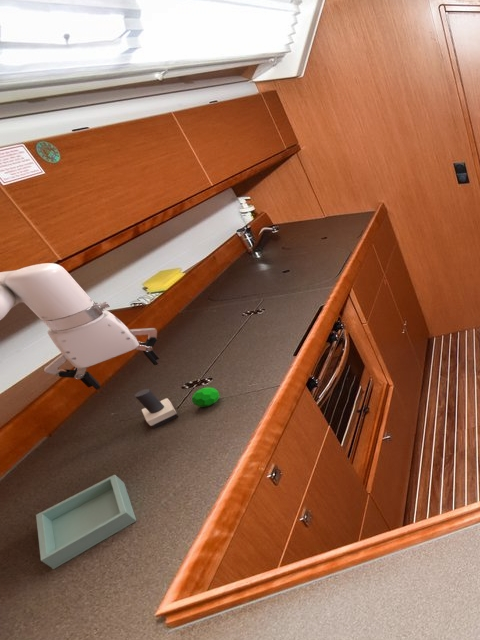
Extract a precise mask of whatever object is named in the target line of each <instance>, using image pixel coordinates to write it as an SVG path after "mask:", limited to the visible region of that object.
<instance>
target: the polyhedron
mask: <svg viewBox="0 0 480 640" xmlns="http://www.w3.org/2000/svg"><path fill="white" fill-rule="evenodd" d="M219 398H220V392H219V391H218V389H216V388H214V387H208V386H207V387H202V388H200V389H197V390H196V391H195V392H194V394H192V397H191V401H192V403H193V404H194V405H195V406H197V407H200V408H206V407H207V408H208V407H209V406H212V405H214V404H215V403H217V401H218V400H220V399H219Z"/></svg>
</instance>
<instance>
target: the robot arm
mask: <svg viewBox="0 0 480 640" xmlns="http://www.w3.org/2000/svg"><path fill="white" fill-rule="evenodd" d="M20 303H23V304H25V306H27V307H28V308H29V309H30V311H32V313H34V314H35V315H36V316H37V318H38V319H40V320H41V321H42V323H44V324H45V326H46V327H48V328H49V329H48V330H47V332H46V333H47V334H48V336H49V338H50V339H51V341H52V343H53V344H54V345H55V347H56V348H57V349H58V350H59V352H60V353H61V354H60V355H58V356H57V357H56V358H55V359H54V360H53V361H52V362H50V363H49V364H48V365H47V366H45V367H44V369H43V370H44V373H46V374H50V375H53V376H58V377H60V378H71V379H73V378H74V379H76V380H80V381H81V382H82V383H83V384H84V385H85V386H86V387H87V388H91V387H93V389H95V390H96V391H97V390H100V388H101V384H100V382H99V381H98V380H97V379H96V378H95V377H94V376H93V375H92V374H91V373H90V372H89V371H88V368H89V367H92V366H95V365H98V364H100V363H103V362H106V361H108V360H111V359H114V358H116V357H119V356H121V355H124V354H127V353H130V352H131V351H133V350H135V351H142V352H143V353H144V355H145V357H146V358H147V359H148V360H149V361H150V362H151V363H152V364H153V366H158V365H159V363H158V360H160V357H159V355H158V354H157V353H156V352H155V350H154V346H155V344H156V343H157V341H158V338H157V337H158V330H157V328H155V327H147V328H132V329H129V328H128V326H126V324H125V323H124V322H122V320H120V319H119V318H118V317H117V316H116V315H115V314H113V313H111V312H110V311H109V310H106V309H108V308H110V305H109V304H108V302H106V301H103V302H99V303H98V302H95V301H94V300H93V299H92V298H91V297H90V296H89V294H87V292H86V291H85V290H84V289H83V288H82V287H81V286H80V284H79V283H78V282H77V281H76V279H74V278H73V277H72V275H71V274H70V273H69V272H68V271H67V270H66V269H65V268H64V267H63V266H62V265H61V264H58V263H53V262H47V263H38V264H37V263H36V264H33V265H29V266H25V267H22V268H19V269H15V270H7V271H1V272H0V321H1V320H3V319H4V318H5V317H6V316H7V315H8V313H9V312H10V310H12V308H14V307H15V306H17V305H19V304H20ZM137 336H148V337H147V339H146V341H145V342H144V341H139V340H138V337H137ZM67 361H68V362H69V363H70V364H71V365H72V366H73V367H75V368H74V369H69V368H68V369H66V368H60V367H61V366H63V365H64V364H65V363H66V362H67Z"/></svg>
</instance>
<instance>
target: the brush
mask: <svg viewBox="0 0 480 640" xmlns="http://www.w3.org/2000/svg"><path fill="white" fill-rule="evenodd" d="M134 397H135V398H136V399H137V401H138V402H139V403H141V405H142V406H143V408H142V409H141V412H142V414H143V417H144V419H145V421H146V423H147V424H148V425H149V427H153V428H154V429H156V428H158V427H161V426H162V425H165V424H167V423H169V422H170V421H172V420H175V419H177V418H179V415H178V413H177V411H176V409H175V407H174V405H173V403H172V402H171V401H170V399H169V398H168V397H166V398H163V399H162V400H160V399H158V397H157V396H156V395H155V394H154V393H153V392H152V390H151V389H149V388H144V389H142V390H139V391H138V392H136V393H135V394H134Z"/></svg>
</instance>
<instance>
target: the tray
mask: <svg viewBox="0 0 480 640" xmlns="http://www.w3.org/2000/svg"><path fill="white" fill-rule="evenodd" d="M35 519H36V528H37V537H38V547H39V556H40V562H42V563H43V564H45V565H46V566H47V567H49V568H51V569H52V570H55V569H57V568H58V567H60V566H62V565H64V564H65V563H67V562H68V561H70V560H72V559H73V558H75V557H77V556H79V555H81V554H83V553H84V552H86V551H87V550H89V549H90V548H92V547H94V546H96V545H97V544H99V543H102V542H103V541H104V540H106V539H108V538H110V537H111V536H113V535H115V534H117V533H118V532H120V531H122V530H123V529H125V528H127V527H128V526H130V525H132V524H134V523H135V522H137V518H136V515H135V511H134V508H133V505H132V503H131V499H130V497H129V494H128V490H127V486H126V484H125V482H124V481H123V480H122V479H121V478H120V477H118V476H117V475H116V474H113V475H111V476H109V477H107V478H105V479H103V480H101V481H99V482H97V483H95V484H93V485H92V486H90V487H88V488H86V489H83V490H82V491H80V492H78V493H76V494H74V495H72V496H69V497H68V498H66V499H64V500H62V501H61V502H59V503H56V504H54V505H53V506H51V507H48V508H47V509H44V510H43V511H40V512H39V513H36V514H35Z"/></svg>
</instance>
